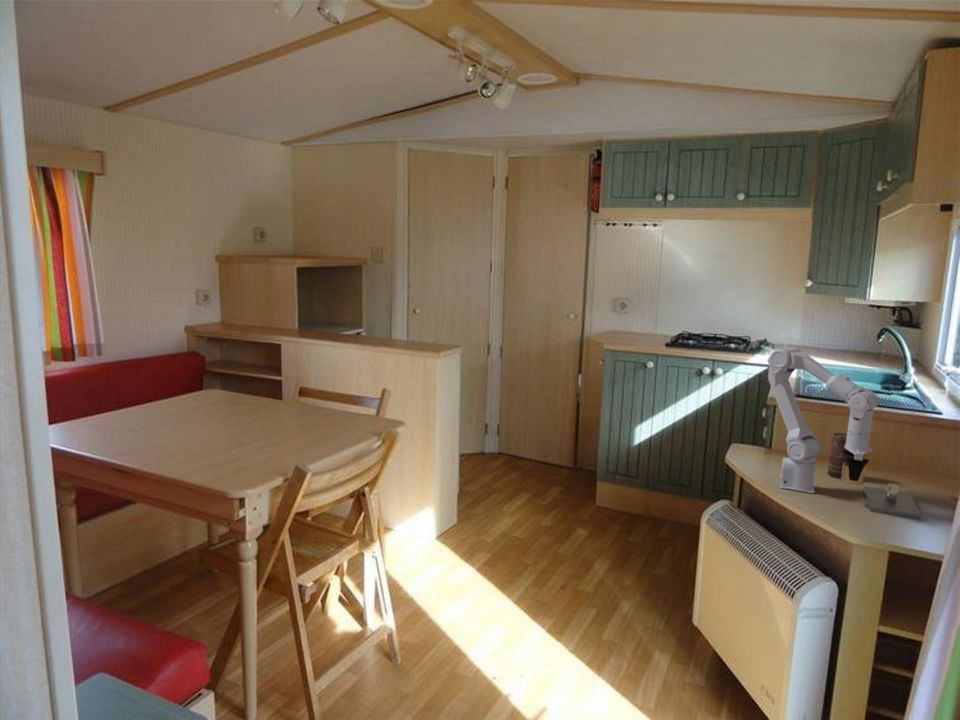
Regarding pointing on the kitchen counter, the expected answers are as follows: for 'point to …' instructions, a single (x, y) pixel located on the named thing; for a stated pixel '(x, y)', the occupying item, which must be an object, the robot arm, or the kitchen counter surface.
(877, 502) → the piston jig
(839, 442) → the can
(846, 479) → the tan cup
